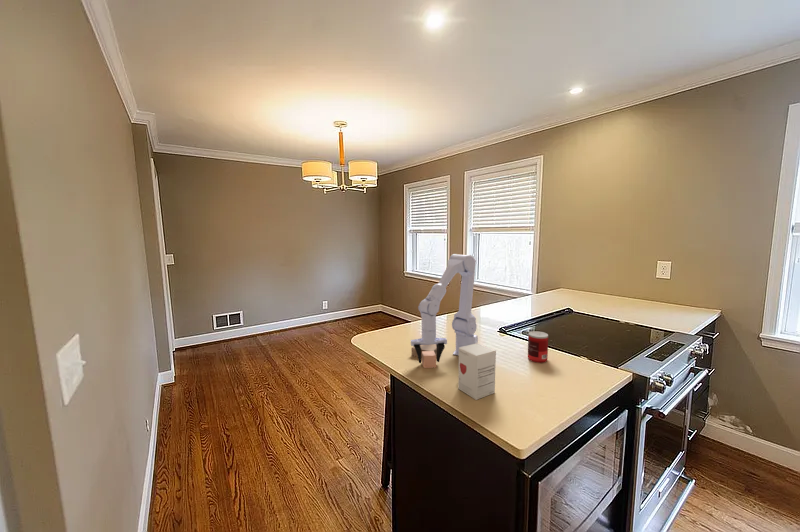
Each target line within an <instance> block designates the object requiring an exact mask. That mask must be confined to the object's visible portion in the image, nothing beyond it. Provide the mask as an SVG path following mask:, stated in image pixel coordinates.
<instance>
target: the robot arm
mask: <svg viewBox="0 0 800 532" xmlns="http://www.w3.org/2000/svg"><path fill="white" fill-rule="evenodd" d="M476 261H477V260H476V259H475V258H474V256H473V255H471V254H458V253H453V254H451V255H450V257H449V259H447V267H446V268H445V270H444V272H443V274H442V276H441V277H440V279H439V282H438V283H435V284H434V285H432V286H431V289H430V291H429V292H428V294H427V296H426V297H425V298H424V299H422V300H421V301H420V302H419V304H418V306H417V309H418V311H419V312H420V318H421V337H420V338H414V339H410V345H411V347H413V346H414V347H415V350H416V352H417V355H418V357H417V359H418V363H419V364H422V358H421V346H420V345H430V344H436V347H437V356H436V363H440V359H441V357H442V354H443V351H444V350H445V348H446V346H445V345H447V344H448V339H447V337H444V338H443V337H437V314H438V313H439V312H440V307H441V306H440V305H441V302H442V299H444V297H445V295H446V293H447V286H448V285H449V284H450V282H451V281H452V280H453V278H454V277H455V275H456V274H459V275H460V276H461V281H460V293H459V303H458V311H456V313H454V314H453V319H452V322H451V327H452V329H453V331H454V333H455V350H454V351H453V353H452V355H454V356H459V348H460V347H463V346H467V345H471V344H475V343H478V344H479V342H478V341H479V338H478V335H477V334H476V332H477V318H476V316H475V315H474V314H473V313H472V306H473V297H474V296H473V294H474V286H475V285H474V284H475V277H476V276H475V275H476V263H477V262H476Z"/></svg>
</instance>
